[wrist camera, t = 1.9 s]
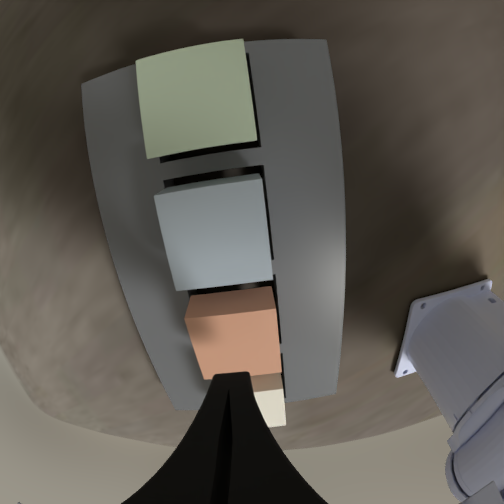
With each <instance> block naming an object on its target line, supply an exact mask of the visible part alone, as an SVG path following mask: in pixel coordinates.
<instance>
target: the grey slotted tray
mask: <svg viewBox="0 0 504 504" xmlns="http://www.w3.org/2000/svg"><path fill="white" fill-rule="evenodd" d="M244 47H245V54H246V61H247V64H248V71H249V78H250V85H251V92H252V99H253V107H254V114H255V122H256V130H257V138H258V145H259V147H254V148H246V149H238V150H231V151H224V152H217V153H211V154H205V155H199V156H193V157H188V158H182V159H177V160H172V161H171V159H170V155H166V156H161V157H156V158H150V159H147V155H146V149H145V142H144V135H143V128H142V120H141V112H140V104H139V94H138V84H137V73H136V64H133V65H130V66H127V67H124V68H121V69H118V70H116V71H113V72H110V73H107V74H105V75H102V76H99V77H97V78H94V79H92V80H90V81H87V82H85V83H83V84H81V90H82V104H83V115H84V125H85V133H86V141H87V148H88V154H89V161H90V166H91V172H92V177H93V183H94V188H95V192H96V197H97V202H98V206H99V210H100V215H101V219H102V223H103V227H104V230H105V234H106V238H107V241H108V245H109V249H110V252H111V255H112V259H113V262H114V265H115V268H116V271H117V275H118V278H119V281H120V284H121V287H122V289H123V292H124V295H125V298H126V301H127V303H128V306H129V309H130V311H131V314H132V317H133V319H134V322H135V324H136V327H137V329H138V332H139V334H140V337H141V339H142V341H143V344H144V346H145V348H146V351H147V353H148V355H149V357H150V359H151V362H152V364H153V366H154V368H155V370H156V372H157V374H158V376H159V379H160V381H161V383H162V385H163V387H164V389H165V391H166V393H167V394H168V396H169V398H170V400H171V402H172V404H173V406H174V408H175V410H199V409H200V407H201V405H202V403H203V400H204V398H205V396H206V394H207V391H208V389H209V386H210V384H211V381H212V379H205V380H204V377H203V374H202V372H201V369H200V366H199V363H198V360H197V357H196V354H195V351H194V348H193V345H192V342H191V339H190V336H189V333H188V329H187V326H186V323H185V320H184V318H185V314H186V311H187V307H188V304H189V300H190V297H191V296H192V295H198V293H197V289H191V290H182V291H176V288H175V285H174V281H173V277H172V273H171V270H170V266H169V262H168V258H167V254H166V250H165V245H164V241H163V237H162V232H161V228H160V224H159V219H158V214H157V209H156V205H155V200H154V195H156V194H157V193H159V192H161V191H162V190H164V189H165V188H167V187H172V186H175V183H174V178H178V177H183V176H189V175H195V174H201V173H207V172H213V171H220V170H226V169H234V168H241V167H249V166H257V165H261V170H262V178H263V187H264V195H265V204H266V213H267V221H268V230H269V240H270V254H271V264H272V273H273V278H274V288H275V298H276V308H277V319H278V335H279V346H280V354H281V364H282V375H283V378H282V385H283V393H284V403H287V402H294V401H300V400H306V399H312V398H317V397H322V396H327V395H332V394H336V389H337V381H338V373H339V364H340V354H341V343H342V331H343V317H344V299H345V271H346V218H345V190H344V172H343V158H342V146H341V135H340V125H339V116H338V108H337V101H336V93H335V86H334V80H333V74H332V68H331V62H330V56H329V51H328V46H327V41H326V40H322V39H276V40H259V41H247V42H244Z"/></svg>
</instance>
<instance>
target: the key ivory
mask: <svg viewBox="0 0 504 504" xmlns="http://www.w3.org/2000/svg"><path fill="white" fill-rule="evenodd" d="M251 381H252V386H253V391H254V396H255V399H256V402H257V404H258V407H259V409H260V411H261V413H262V416H263V418H264V420H265V422H266V424H267V426H268V427H276V426H283V425H286V418H285V405H284V393H283V385H282V378H281V372H279V373H271V374H263V375H254V376H251Z"/></svg>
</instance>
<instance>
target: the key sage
mask: <svg viewBox="0 0 504 504" xmlns="http://www.w3.org/2000/svg"><path fill="white" fill-rule="evenodd" d="M136 73H137V84H138V94H139V104H140V112H141V120H142V128H143V135H144V142H145V149H146V155H147V159H150V158H156V157H161V156H166V155H171V154H176V153H181V152H186V151H192V150H197V149H203V148H209V147H215V146H222V145H229V144H236V143H244V142H252V141H257V135H256V127H255V119H254V112H253V104H252V97H251V89H250V82H249V75H248V68H247V61H246V54H245V47H244V40H243V39H235V40H227V41H220V42H213V43H207V44H202V45H196V46H191V47H186V48H181V49H177V50H173V51H168V52H164V53H160V54H157V55H153V56H149V57H146V58H143V59H139V60H136Z"/></svg>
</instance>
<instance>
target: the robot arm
mask: <svg viewBox="0 0 504 504" xmlns="http://www.w3.org/2000/svg"><path fill="white" fill-rule="evenodd" d="M491 286H492V281H491V280H490V279H486V280H483V281H480V282H477V283H473V284H470V285H467V286H464V287H460V288H457V289H453V290H450V291H446V292H443V293H439V294H436V295H432V296H428V297H424V298H420V299H417V300H414V301H413V302H412V304H411V306H410V311H409V316H408V320H407V325H406V330H405V334H404V338H403V342H402V346H401V350H400V354H399V357H398V361H397V365H396V368H395V371H394V374H395V376H396V377H401V376H404V375H407V374H410V373H413V372H416V371H417V373H418V375H419V376H420V378H421V379H422V381H423V383H424V384H425V386H426V387H427V389H428V391H429V392H430V394H431V396H432V397H433V399H434V401H435V402H436V404H437V406H438V407H439V409H440V411H441V413H442V414H443V416H444V417H445V419H446V421H447V423H448V425H449V427H450V428H451V430H452V432H453V435H452V436H451V437H450V438H449V439H448V440H447V442H448V444H449V446H450V448H451V451H450V453H449V454H448V457H447V460H446V466H445V471H446V479H447V483H448V486H449V488H450V491H451V492H452V494H453V495H454V496H455V497H456V498H457V499H458V500H459V501H460V502H461V503H460V504H504V301H503V300H501V299H500V298H499V297H498V296H497V295H495V294H494V293H493V292H492V291H490V290H491ZM422 304H423V305H422ZM421 305H422V306H421ZM18 504H21V503H20V502H18ZM121 504H328V503H327V502H326V501H325V500H323V498H321V497H320V496H319V495H318V494H317V493H316V492H315V490H314V489H312V487H311V486H310V485H309V484H308V483H307V482H306V481H305V480H304V478H303V477H302V476H301V475H300V474H299V472H298V471H297V470H296V469H295V467H294V466H293V465H292V464H291V462H290V461H289V460H288V458H287V457H286V455H285V454H284V453H283V451H282V449H281V448H280V446H279V445H278V443H277V442H276V440H275V438H274V437H273V435H272V433H271V431H270V430H269V428H268V426H267V424H266V422H265V420H264V418H263V416H262V413H261V411H260V409H259V407H258V404H257V402H256V399H255V396H254V391H253V386H252V381H251V376H250V373H249V372H247V371H243V372H232V373H220V374H215V375H214V376H213V378H212V381H211V384H210V386H209V389H208V391H207V394H206V396H205V398H204V400H203V403H202V405H201V407H200V409H199V411H198V413H197V415H196V417H195V419H194V421H193V422H192V424H191V426H190V427H189V429H188V431H187V433H186V434H185V436H184V437H183V439H182V441H181V442H180V444H179V445H178V446H177V448H176V450H175V451H174V452H173V453H172V455H171V456H170V457H169V458H168V460H167V461H166V462H165V463H164V465H163V466H162V467H161V468H160V469H159V470H158V471H157V473H156V474H155V475H154V476H153V477H152V478H151V479H150V480H149V481H148V482H146V483H145V485H143V486H142V487H141V488H140V489H139V490H138V491H137V492H136V493H134V494H133V495H132V496H131V497H130V498H128V499H127V500H125V501H124V502H123V503H121Z"/></svg>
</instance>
